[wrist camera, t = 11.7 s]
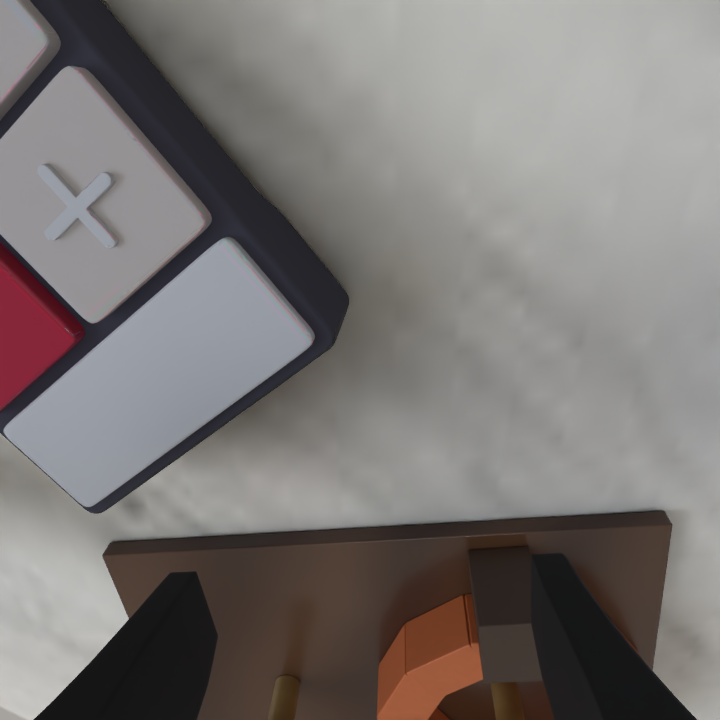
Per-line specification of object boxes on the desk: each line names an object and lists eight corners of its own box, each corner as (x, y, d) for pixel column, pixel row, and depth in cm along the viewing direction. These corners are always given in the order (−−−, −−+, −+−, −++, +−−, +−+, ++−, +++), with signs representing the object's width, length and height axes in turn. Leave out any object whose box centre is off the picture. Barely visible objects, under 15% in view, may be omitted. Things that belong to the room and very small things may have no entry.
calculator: (-140, -213, 11) (339, 352, 15) (5, -130, 15) (356, 302, 19) (-353, 153, 15) (81, 536, 19) (-191, 144, 19) (140, 461, 23)
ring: (648, 536, 22) (691, 615, 19) (631, 752, 28) (662, 841, 25) (355, 557, 23) (348, 633, 20) (398, 759, 29) (398, 843, 26)
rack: (664, 510, 22) (734, 623, 18) (634, 744, 29) (680, 872, 24) (109, 541, 25) (42, 648, 20) (196, 750, 31) (160, 867, 27)
